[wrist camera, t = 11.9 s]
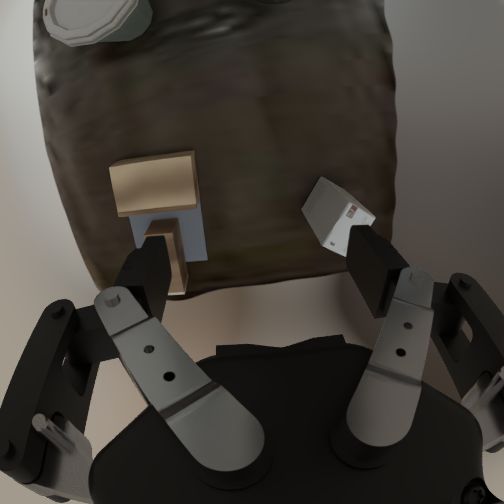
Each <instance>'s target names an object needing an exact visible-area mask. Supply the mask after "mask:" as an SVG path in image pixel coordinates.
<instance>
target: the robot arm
mask: <svg viewBox="0 0 504 504" xmlns="http://www.w3.org/2000/svg"><path fill="white" fill-rule="evenodd" d="M257 1H260V2H264V3H271V4H277V3H285V2H288V1H291V0H257ZM346 265H347V269H348V271H349V273H350V274H351V276H352V278H353V280H354V281H355V283H356V285H357V287H358V289H359V291H360V292H361V294H362V296H363V298H364V300H365V301H366V304H367V305H368V307H369V309H370V311H371V313H372V315H373V317H374V319H375V318H382V317H385V318H386V319H385V321H384V324H383V327H382V330H381V332H380V335H379V337H378V340H377V343H376V345H375V348H374V350H371V349H369V348H366V347H363V346H360V345H356V344H350V343H346V342H345V340H344V337H343V335H342V334H341V335H333V336H325V337H317V338H312V339H308V340H305V341H303V342H300V343H296V344H293V345H290V346H286V347H282V348H281V347H270V346H261V345H254V344H237V345H217V346H216V355H214V356H210V357H207V358H205V359H202V360H200V361H198V362H196V363H195V362H194V361H193V360H192V359H191V358H190V357H189V355H188V354H187V353H186V352H185V351H184V350H183V349H182V348H181V346H180V345H179V344H178V343H177V342H176V341H175V340H174V338H173V337H172V336H171V335H170V334H169V333H168V331H167V330H166V329H165V328H164V327H163V325H162V324H161V321H162V317H163V312H164V308H165V304H166V300H167V296H168V292H169V288H170V284H171V279H172V271H171V264H170V259H169V254H168V249H167V244H166V239H165V236H164V235H159V236H147V237H146V239H145V241H144V243H143V245H142V247H141V248H136V249H135V250H134V251H132V252H131V253H130V254H129V255H128V257H127V259H126V261H125V264H124V265H123V267H122V270H121V271H120V273H119V275H118V277H117V279H116V281H115V283H114V285H113V287H110V288H107V289H105V290H103V291H102V292H100V293H99V294H98V295H97V296H96V298H95V300H94V305H91V306H87V307H83V308H79V309H75V306H74V304H73V303H72V302H71V301H70V300H67V299H61V300H57V301H55V302H53V303H51V304H50V305H48V306H47V307H46V308H45V310H44V311H43V313H42V315H41V317H40V319H39V320H38V322H37V325H36V327H35V328H34V330H33V332H32V334H31V336H30V338H29V340H28V342H27V345H26V347H25V349H24V351H23V353H22V355H21V358H20V360H19V362H18V365H17V367H16V369H15V371H14V374H13V376H12V379H11V381H10V384H9V386H8V389H7V391H6V394H5V397H4V399H3V402H2V405H1V408H0V470H1V471H2V472H4V473H5V474H7V475H8V476H10V477H12V478H13V479H14V480H15V481H16V482H18V483H20V484H21V485H23V486H25V487H26V488H28V489H30V490H32V491H34V492H35V493H37V494H39V495H42V496H45V497H47V498H49V499H51V500H53V501H55V502H60V503H64V502H67V501H69V500H70V499H72V500H76V501H80V502H84V503H89V504H504V502H503V501H502V500H500V499H498V498H497V497H496V496H494V495H493V494H492V493H491V492H490V491H489V489H488V488H487V486H486V484H485V481H484V477H483V467H482V452H483V451H487V452H490V453H495V452H497V451H499V450H500V449H502V448H503V447H504V315H503V314H502V313H501V311H500V310H499V309H498V307H497V306H496V305H495V304H494V302H493V301H492V300H491V298H490V297H489V296H488V295H487V293H486V292H485V291H484V290H483V288H482V287H481V286H480V285H479V284H478V282H477V281H476V280H475V279H473V278H472V277H470V276H469V275H466V274H463V273H455V274H453V275H452V276H451V278H450V281H449V283H448V284H447V283H438V282H434V280H433V277H432V276H431V275H430V274H429V273H428V272H427V271H425V270H423V269H420V268H417V267H410V266H409V264H408V263H407V262H406V261H405V260H404V259H403V257H402V256H401V255H400V254H399V253H398V251H397V250H396V249H395V248H394V247H393V245H392V244H391V243H390V242H389V241H388V240H387V239H385V238H384V237H382V236H380V235H377V234H376V233H375V231H374V230H373V229H372V228H371V227H370V226H369V225H352V226H351V228H350V232H349V239H348V246H347V253H346ZM465 320H466V321H467V322H468V324H469V325H470V327H471V329H472V332H473V338H472V341H471V343H470V342H469V340H468V338H467V337H466V335H465V334H464V332H463V331H462V329H461V328H462V326H463V324H464V322H465ZM430 336H431V338H432V340H433V342H434V343H435V345H436V347H437V349H438V351H439V353H440V355H441V357H442V359H443V361H444V363H445V365H446V367H447V369H448V371H449V373H450V375H451V377H452V379H453V381H454V384H455V386H456V388H457V390H458V392H459V394H460V397H461V399H462V403H461V404H459V403H457V402H456V401H454V400H453V399H451V398H449V397H448V396H446V395H444V394H443V393H441V392H439V391H438V390H436V389H435V388H433V387H431V386H429V385H428V384H427V383H425V382H423V381H422V380H421V377H422V373H423V368H424V364H425V359H426V354H427V349H428V344H429V339H430ZM64 357H65V360H64ZM115 358H119V359H120V361H121V363H122V365H123V366H124V368H125V370H126V371H127V373H128V375H129V376H130V378H131V380H132V381H133V383H134V384H135V386H136V388H137V389H138V391H139V393H140V394H141V396H142V397H143V399H144V401H145V402H146V404H147V405H148V407H147V408H146V409H145V410H144V411H143V412H141V414H139V415H138V416H137V417H136V418H135V419H134V420H133V421H132V422H131V423H130V424H129V425H128V426H127V427H126V428H124V429H123V430H122V431H121V432H120V433H119V434H118V435H117V436H116V437H115V438H114V439H113V440H112V441H111V442H109V443H108V444H107V445H106V446H105V447H104V448H103V449H102V450H101V451H100V452H99V453H98V454H97V455H96V457H95V458H94V460H93V459H92V448H91V444H90V442H89V440H88V439H87V438H86V437H85V436H84V431H85V426H86V420H87V416H88V410H89V406H90V401H91V396H92V393H93V388H94V384H95V380H96V376H97V372H98V368H99V364H100V362H101V361H106V360H110V359H115ZM63 360H64V363H63ZM62 364H63V366H62Z"/></svg>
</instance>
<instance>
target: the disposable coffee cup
mask: <svg viewBox="0 0 504 504" xmlns="http://www.w3.org/2000/svg"><path fill="white" fill-rule="evenodd" d="M152 15H153V11H152V9H151V6H150V4H149V1H148V0H45V4H44V8H43V20H44V23H45V25H46V28H47V31H48V32H50V35H51V37H53V38H55V39H57V40H59V41H61V42H63V43H65V44H67V45H69V46H71V47H73V46H79V45H86V44H94V43H96V42H118V41H131V40H133V39H135V38H137V37H138V36H140V35H142V34H143V33H144V32H145V30H146V29H147V28H148V27H149V25H150V24H151V20H152Z"/></svg>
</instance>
